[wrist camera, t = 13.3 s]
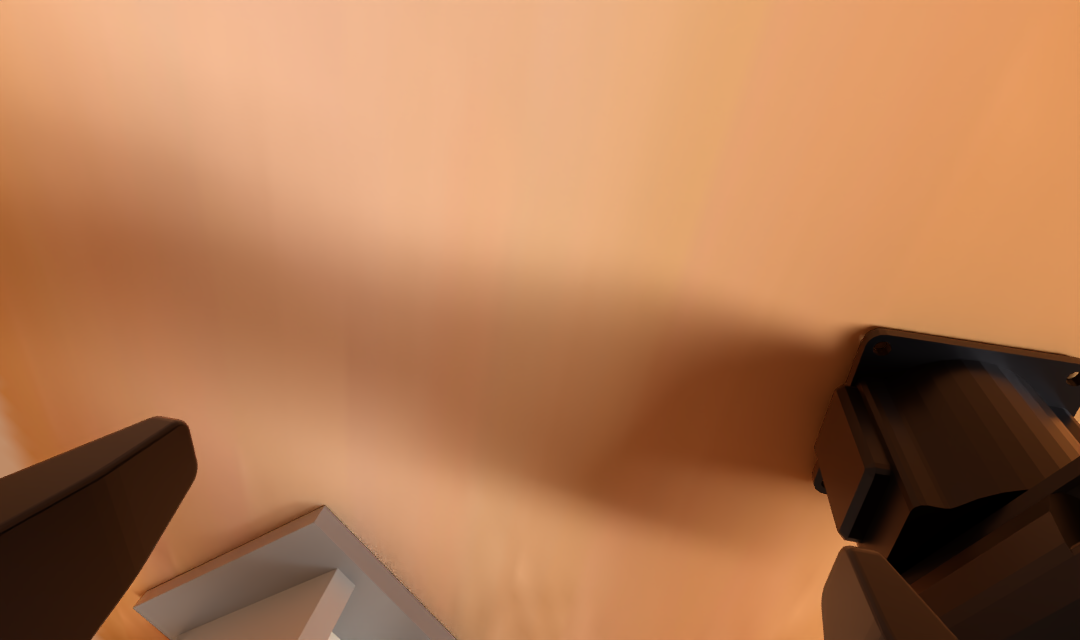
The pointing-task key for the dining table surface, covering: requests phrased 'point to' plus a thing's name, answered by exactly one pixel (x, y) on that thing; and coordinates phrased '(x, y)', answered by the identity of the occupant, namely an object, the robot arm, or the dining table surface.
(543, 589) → the dining table surface
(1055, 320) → the dining table surface
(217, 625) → the slot rack
